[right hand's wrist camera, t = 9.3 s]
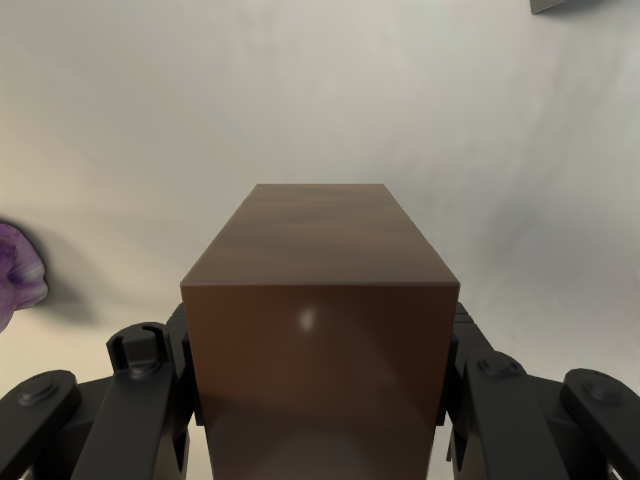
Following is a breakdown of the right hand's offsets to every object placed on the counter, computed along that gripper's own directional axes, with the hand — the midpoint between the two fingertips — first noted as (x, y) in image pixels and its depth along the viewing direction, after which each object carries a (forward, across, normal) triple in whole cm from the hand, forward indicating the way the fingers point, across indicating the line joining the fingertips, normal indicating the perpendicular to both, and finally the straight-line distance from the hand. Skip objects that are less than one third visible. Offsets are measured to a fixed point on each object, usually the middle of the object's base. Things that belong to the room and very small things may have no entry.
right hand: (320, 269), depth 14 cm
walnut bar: (0, 0, -10) cm, 10 cm away
